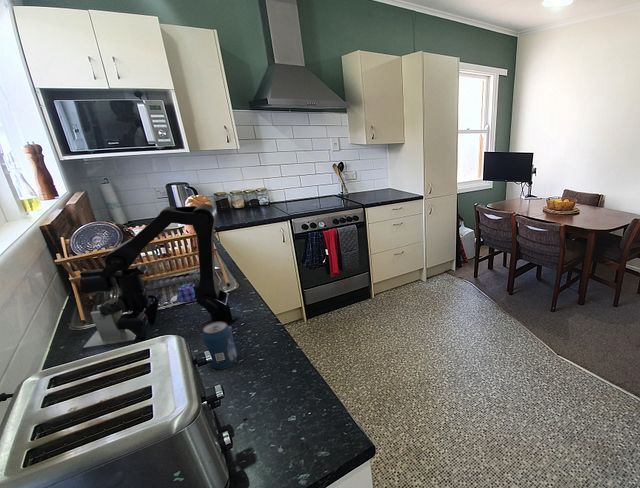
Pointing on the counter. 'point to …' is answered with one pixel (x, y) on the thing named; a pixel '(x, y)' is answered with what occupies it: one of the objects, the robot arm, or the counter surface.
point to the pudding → (185, 293)
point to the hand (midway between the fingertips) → (148, 331)
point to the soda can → (219, 344)
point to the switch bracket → (107, 331)
